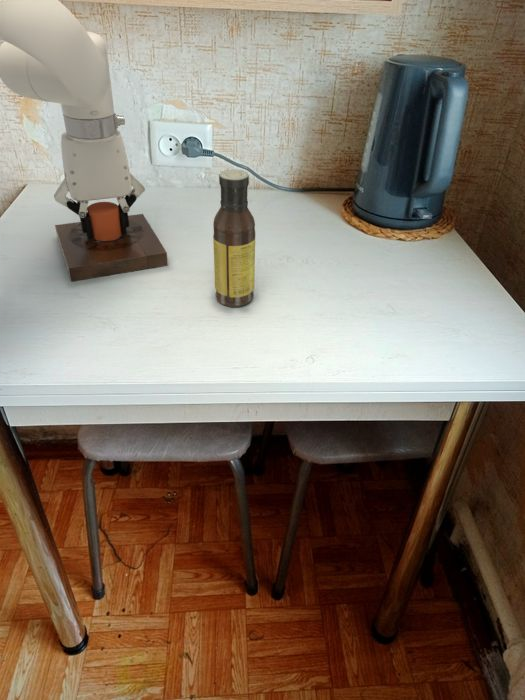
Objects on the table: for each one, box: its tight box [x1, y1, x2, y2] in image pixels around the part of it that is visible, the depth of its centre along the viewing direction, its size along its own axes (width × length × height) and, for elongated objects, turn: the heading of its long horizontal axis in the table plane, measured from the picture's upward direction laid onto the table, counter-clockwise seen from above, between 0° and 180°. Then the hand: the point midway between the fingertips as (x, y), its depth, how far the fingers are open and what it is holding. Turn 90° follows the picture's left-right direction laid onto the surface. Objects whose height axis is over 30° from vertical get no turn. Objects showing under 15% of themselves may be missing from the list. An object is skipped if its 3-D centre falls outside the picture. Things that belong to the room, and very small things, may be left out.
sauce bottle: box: [212, 169, 256, 308], centre depth 75 cm, size 6×6×20 cm
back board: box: [54, 213, 169, 282], centre depth 90 cm, size 16×16×2 cm
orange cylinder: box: [87, 201, 122, 242], centre depth 89 cm, size 5×5×5 cm
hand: (106, 232), depth 90 cm, fingers closed on orange cylinder, 5 cm apart
